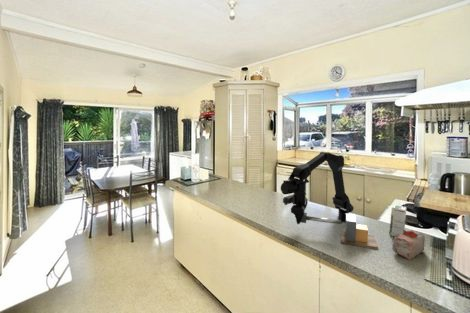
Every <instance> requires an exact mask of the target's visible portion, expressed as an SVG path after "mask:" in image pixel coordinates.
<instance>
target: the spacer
mask: <svg viewBox="0 0 470 313" xmlns="http://www.w3.org/2000/svg"><path fill="white" fill-rule="evenodd" d="M368 235H369V229H368V225H366V224H360V223H356V241H360V242H366V243H367V242H368Z"/></svg>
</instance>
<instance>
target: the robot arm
mask: <svg viewBox="0 0 470 313" xmlns="http://www.w3.org/2000/svg"><path fill="white" fill-rule="evenodd" d="M325 162H327V165H328V167H329V168H330V170H331V171H332V177H333V184H334V191H335V194H334V196H333V197H332V204H333V205H334V208H335V209H338V216H336V218H337V219H336V220H341V222H346V214H350V213H352V212H354V209H355V208H354V206H353V204H352V203H351V201H350V198H349V196H348V194H347V193H346V189H345V183H344V177H343V176H344V175H343V169H344V166H345V158H344V155H341V154H340V155H339V154H334V153H331V152H329V151H320V152H319V153H318V154H317V155H316V156H314V157H313V158H311V159H310V160H308V161H307V162H305V163H304V164H299V165H297V166H295V167H293V169H292V171H291V174H290V175H289V177H288V179H287V180H282V181H283V182H282V183H281V185H280V192H281V193H282V194H283V195H286V196H284V197H283V198H282V203H283V204H284V206H287V205H290V204H292V206H291V208H290V213H291V214H293V215H294V218H295V220H296V224H297V225H301V219H302V217H303V215H304V213H306V212H305V211H306V208H307V207H308V204H309V203H308V200H309V199H308V198H307V190H306V189H307V184H308V183H310V180H308V178H309V177H310V176H311V174H312V171H313V170H315V169H316V168H317V167H320V166H321V165H322V164H323V163H325ZM291 194H292V195H291ZM287 195H288V196H287Z"/></svg>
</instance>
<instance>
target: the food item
mask: <svg viewBox="0 0 470 313" xmlns="http://www.w3.org/2000/svg"><path fill="white" fill-rule="evenodd" d="M403 232H404V233H403V234H402V235H400V234H399V235H400V236H399V235H397V236H396V237H395V236H394V238H393V240H392V251H393V252H395V253H396V254H397V255H399V256H400V257H403V258H405V259H407V260H409V261H410V260H412V259H413V258H415V257H416V256H417V255H419V254H421V253H422V252H424V250H425V241H426V239H425V235H424V234H423V233H421V232H419V231H416V230H413V229H412V230H407V231H406V229H404V230H403Z"/></svg>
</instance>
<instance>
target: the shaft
mask: <svg viewBox="0 0 470 313" xmlns="http://www.w3.org/2000/svg"><path fill="white" fill-rule="evenodd" d="M307 221H310V222H311V221H313V222H320V223H328V224H334V225H335V224H336V225H342V221H341V220H338V219H334V218H333V219H332V218H326V217H317V216H308V212H305V213H304V215H303V217H302V219H301V222H300V224H301V223H302V224H307Z"/></svg>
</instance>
